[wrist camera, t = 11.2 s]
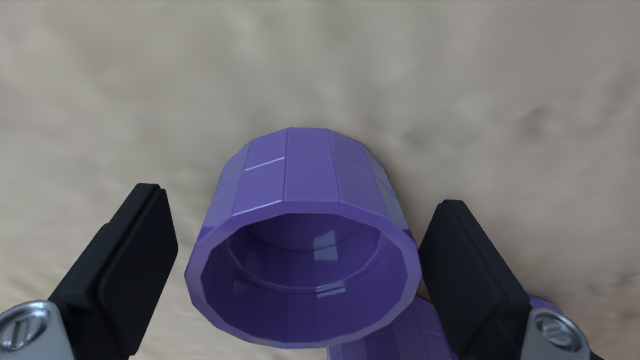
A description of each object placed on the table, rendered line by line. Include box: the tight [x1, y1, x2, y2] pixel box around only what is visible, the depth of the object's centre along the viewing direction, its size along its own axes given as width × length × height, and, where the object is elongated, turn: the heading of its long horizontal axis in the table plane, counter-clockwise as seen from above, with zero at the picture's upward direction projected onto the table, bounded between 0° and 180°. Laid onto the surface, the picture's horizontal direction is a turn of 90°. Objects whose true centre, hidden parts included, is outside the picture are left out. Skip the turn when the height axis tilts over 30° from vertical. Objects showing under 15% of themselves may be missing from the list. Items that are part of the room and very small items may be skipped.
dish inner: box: [184, 127, 423, 349], centre depth 11 cm, size 7×7×4 cm
